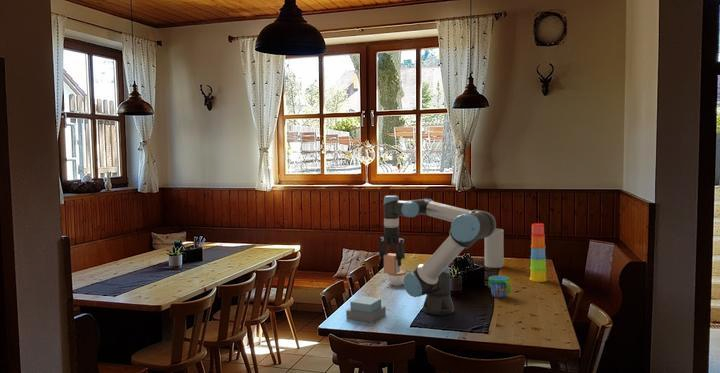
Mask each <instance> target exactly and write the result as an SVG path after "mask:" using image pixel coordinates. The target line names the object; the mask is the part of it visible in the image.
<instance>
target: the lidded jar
mask: <svg viewBox="0 0 720 373" xmlns="http://www.w3.org/2000/svg"><path fill="white" fill-rule="evenodd" d="M406 274H407V273H406V271H405V270H403V269H400V272H398V273H396V274H390V273H387V278H388V282H389V283H390V284H391V285H392V286H394V287H396V286H397V287H398V286H402V285H404V277H405V275H406Z"/></svg>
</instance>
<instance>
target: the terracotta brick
mask: <svg viewBox="0 0 720 373" xmlns="http://www.w3.org/2000/svg"><path fill="white" fill-rule="evenodd" d="M396 260H397V256H396V253H391V252H389V253H387V254H386V255H384V264H383V274H388V273H390V274H396Z"/></svg>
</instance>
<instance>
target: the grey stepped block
mask: <svg viewBox="0 0 720 373" xmlns="http://www.w3.org/2000/svg"><path fill="white" fill-rule="evenodd" d="M349 305H350V307H349V308H348V309H346V311H345V312H346V315H345V316H346V318H345V319H347V320H353V321H359V322H366V323H371V324H372V323H374V322H376V321H377V320H379V319H380V318H382V317H384V316H385V315H386V306H385V305H382V298H378V297H371V296H364V295H361V296H359V297H357V298H355V299H354V300H351V301H350V304H349Z"/></svg>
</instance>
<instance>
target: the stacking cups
mask: <svg viewBox="0 0 720 373" xmlns="http://www.w3.org/2000/svg"><path fill="white" fill-rule="evenodd" d="M530 236H531V245H530V249H531V250H530V252H531V253H530V254H531V255H530V266H529V269H530V277H529V280H530V281H531V282H534V283H544V282H547V281H548V279H547V269H548V267H546V264H547V262H546V261H547V256H546V248H547V246H546V242H545V240H546V238H545V237H546V234H545V224H544V223H542V222H534V223H532V224H531V235H530Z"/></svg>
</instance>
